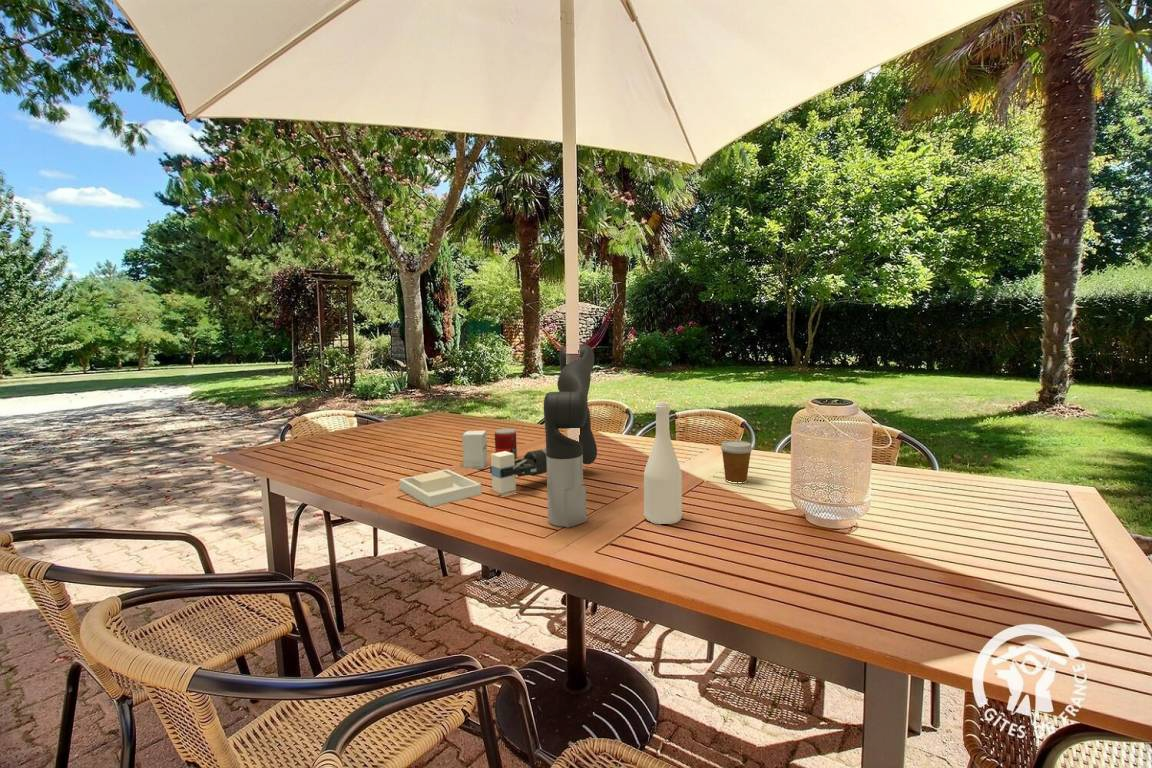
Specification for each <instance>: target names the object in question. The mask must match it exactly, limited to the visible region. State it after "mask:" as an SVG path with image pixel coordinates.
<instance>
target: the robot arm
mask: <svg viewBox="0 0 1152 768" xmlns="http://www.w3.org/2000/svg"><path fill="white" fill-rule="evenodd" d="M579 345H580V354H581V359H578V360H575V361H573V362H571V363H569V364H567V365H566V354H565V349H566V346H567V345H563V346H561V348H560V349H559V368H560V372H559V375H558V378H557V379H558V380H557V383H556V384H557V390H558V391H549V392H547V393H546V394H545V396H544V399H543V420H544V429H545V430H544V431H545V433H544V434H545V448H542V449H541V448H540V449H536V450H532V451H528V452H526V453H525V455H524V456H523V458H522V457H520V458H516V460H514V462H515V466H514V467H512V468H507V469H502V470H500V477H507V476H511V475H513V476H515V477H516V476H517V477H519V478H520V477H524V476H532V477H533V476H539V475H542V474H546V490H547V491H546V493H547V496H546V497H547V519H548V520H547V521H548V523H549V524H550V525H552V526H556V527H565V528H572V527H574V526H577V525H580V524H583V523H586V522H587V498H586V497H587V488H586V487H587V486H586V485H584V466H583V465H591V464H593V463H594V462H595V461H596V459H597V455H598V446H597V443H596V440H595V437H594V433H593V431H592V428H591V427H592V424H591V413H590V408H589V405H588V404H589V403H588V401H589V399H588V395H589V391H590V387H591V374H592V372H593V369H594V365H595V354H594V350H593V348H592V347H591V346H590V345H588V344H579ZM578 353H579V350H578ZM579 357H580V356H579ZM570 428H580V435H579V442H578V441H576V440H577V439H573V438H570V437H568V436H566V435H565V434H563V433H561V431H560V429H567V430H568V429H570ZM489 472H490V474H492V470H491V465H490V467H489Z"/></svg>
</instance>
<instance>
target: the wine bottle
mask: <svg viewBox="0 0 1152 768" xmlns="http://www.w3.org/2000/svg"><path fill="white" fill-rule="evenodd" d="M654 405H655V406H654V409H655V411H654V412H655V416H656V417H655V436H654V437H655V438H654V441H653V444H652V447H651V450H650V453H649V456H648V458H647V462H646V465H645V469H644V471H643V472H644V473H643V502H644V503H643V511H644V518H645V519H646V520H647V521H648V522H649V521H650V523H652V524H656V525H661V524H669V525H673V524H677V523H679V522H680V521H681V519H682V518H683V473H682V470H681V465H680V462H679V460H678V458H677V454H676V451H675V448H674V446H673V442H672V439H671V435H670V412H671V405H670V403H669V402H666V401H664V402H663V401H660V402H656V403H655V404H654Z"/></svg>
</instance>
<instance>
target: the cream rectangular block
mask: <svg viewBox="0 0 1152 768" xmlns="http://www.w3.org/2000/svg"><path fill="white" fill-rule="evenodd" d="M440 471H441V472H437V471H435V472H436V473H432V472H430V473H431V474H427V473H425V474H426V475H423V474H420V475H421V476H418V475H416V476H417V477H413V476H411V477H412V484H413V485H415V486H417V487H418V488H420V489H422V490H424V491H426V492H427V493H428V492H433V491H437V490H441V489H446V488H450V487H453V479H452V475H450V474H447V473H445V472H443V471H442V470H440Z"/></svg>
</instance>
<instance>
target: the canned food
mask: <svg viewBox="0 0 1152 768" xmlns="http://www.w3.org/2000/svg"><path fill="white" fill-rule="evenodd" d="M494 447H495V448H494V449H495V450H494V451H495V453H498V452H503V451H507V452H510V453H513V454H514V460H515V459H518V458H517V457H518V456H517V455H518V450H517V447H518V446H517V430H516V429H514V428H499V429H496V430H494Z"/></svg>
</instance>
